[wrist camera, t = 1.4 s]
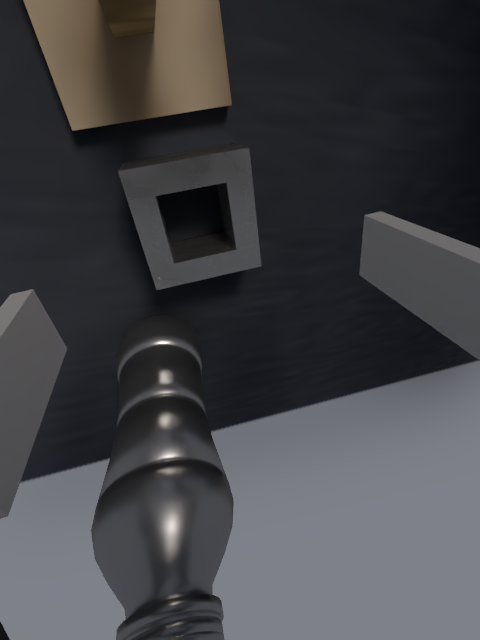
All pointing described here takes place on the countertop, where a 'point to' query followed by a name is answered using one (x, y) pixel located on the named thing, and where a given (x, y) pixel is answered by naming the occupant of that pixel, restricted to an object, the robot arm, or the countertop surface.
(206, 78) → the tan square plate
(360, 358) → the countertop surface
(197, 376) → the plastic bottle
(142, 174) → the grey square frame
